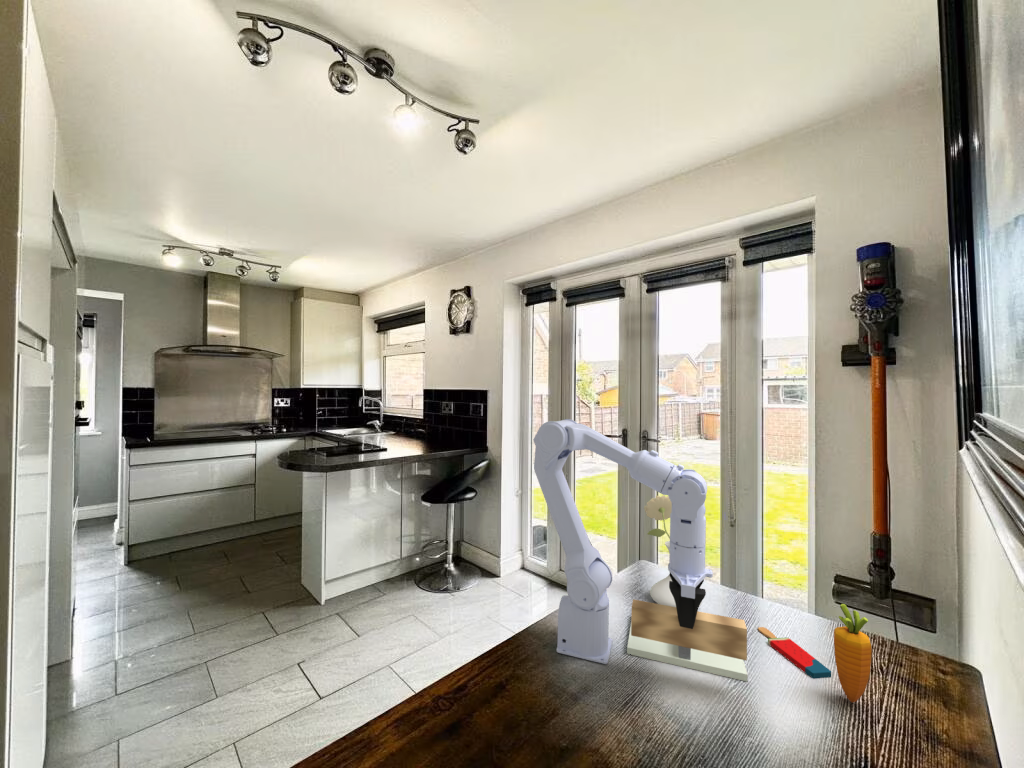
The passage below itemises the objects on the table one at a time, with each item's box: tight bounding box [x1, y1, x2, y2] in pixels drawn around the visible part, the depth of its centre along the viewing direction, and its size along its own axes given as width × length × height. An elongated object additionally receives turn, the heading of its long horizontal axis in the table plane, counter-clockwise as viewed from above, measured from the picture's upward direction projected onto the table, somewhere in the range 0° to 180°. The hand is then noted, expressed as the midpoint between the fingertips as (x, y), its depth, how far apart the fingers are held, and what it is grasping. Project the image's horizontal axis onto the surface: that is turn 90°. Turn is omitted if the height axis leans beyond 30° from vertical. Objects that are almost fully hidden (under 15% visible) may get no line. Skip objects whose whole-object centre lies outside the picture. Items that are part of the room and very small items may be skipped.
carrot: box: [833, 603, 873, 703], centre depth 68 cm, size 5×5×15 cm
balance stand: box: [626, 626, 749, 683], centre depth 82 cm, size 20×14×4 cm
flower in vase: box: [643, 494, 703, 608], centre depth 99 cm, size 13×11×25 cm
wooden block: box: [630, 598, 748, 661], centre depth 72 cm, size 18×3×5 cm, turn 69°
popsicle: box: [757, 626, 832, 680], centre depth 81 cm, size 4×2×15 cm
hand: (686, 621), depth 72 cm, fingers closed on wooden block, 3 cm apart
